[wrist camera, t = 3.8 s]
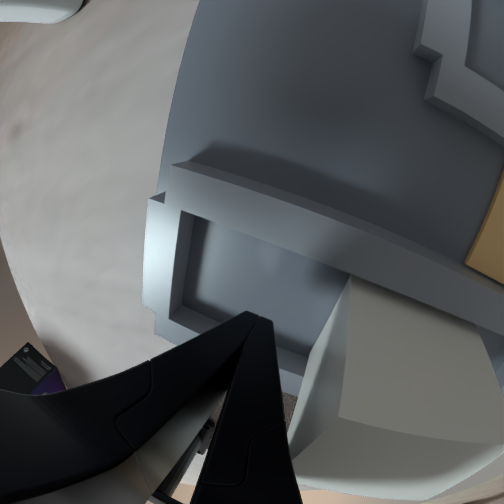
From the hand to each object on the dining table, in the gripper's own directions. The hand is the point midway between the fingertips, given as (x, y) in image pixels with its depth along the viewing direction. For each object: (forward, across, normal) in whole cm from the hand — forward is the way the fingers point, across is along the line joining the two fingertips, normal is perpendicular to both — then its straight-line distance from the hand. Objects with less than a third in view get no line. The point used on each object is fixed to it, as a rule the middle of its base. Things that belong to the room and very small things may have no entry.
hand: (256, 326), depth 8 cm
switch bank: (+3, -7, -5) cm, 10 cm away
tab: (+2, -4, 0) cm, 5 cm away
